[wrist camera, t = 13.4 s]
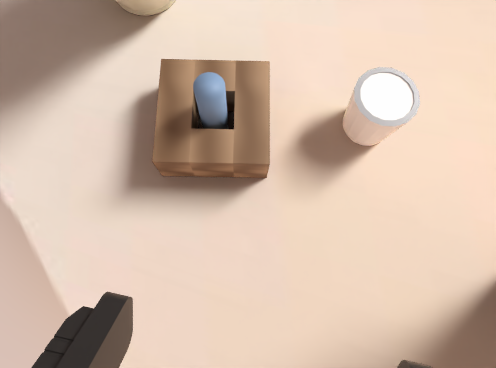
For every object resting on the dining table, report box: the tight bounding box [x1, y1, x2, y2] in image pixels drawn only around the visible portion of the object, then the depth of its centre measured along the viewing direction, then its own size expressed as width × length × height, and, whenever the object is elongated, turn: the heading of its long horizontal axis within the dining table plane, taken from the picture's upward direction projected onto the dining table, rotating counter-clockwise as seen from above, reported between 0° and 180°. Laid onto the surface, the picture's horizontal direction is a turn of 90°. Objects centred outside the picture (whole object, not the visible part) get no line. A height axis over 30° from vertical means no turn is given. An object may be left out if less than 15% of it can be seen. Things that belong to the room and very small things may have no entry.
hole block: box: [152, 59, 270, 178], centre depth 42 cm, size 12×12×5 cm
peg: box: [193, 72, 229, 129], centre depth 40 cm, size 3×3×10 cm
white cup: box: [343, 67, 420, 146], centre depth 42 cm, size 7×7×7 cm
